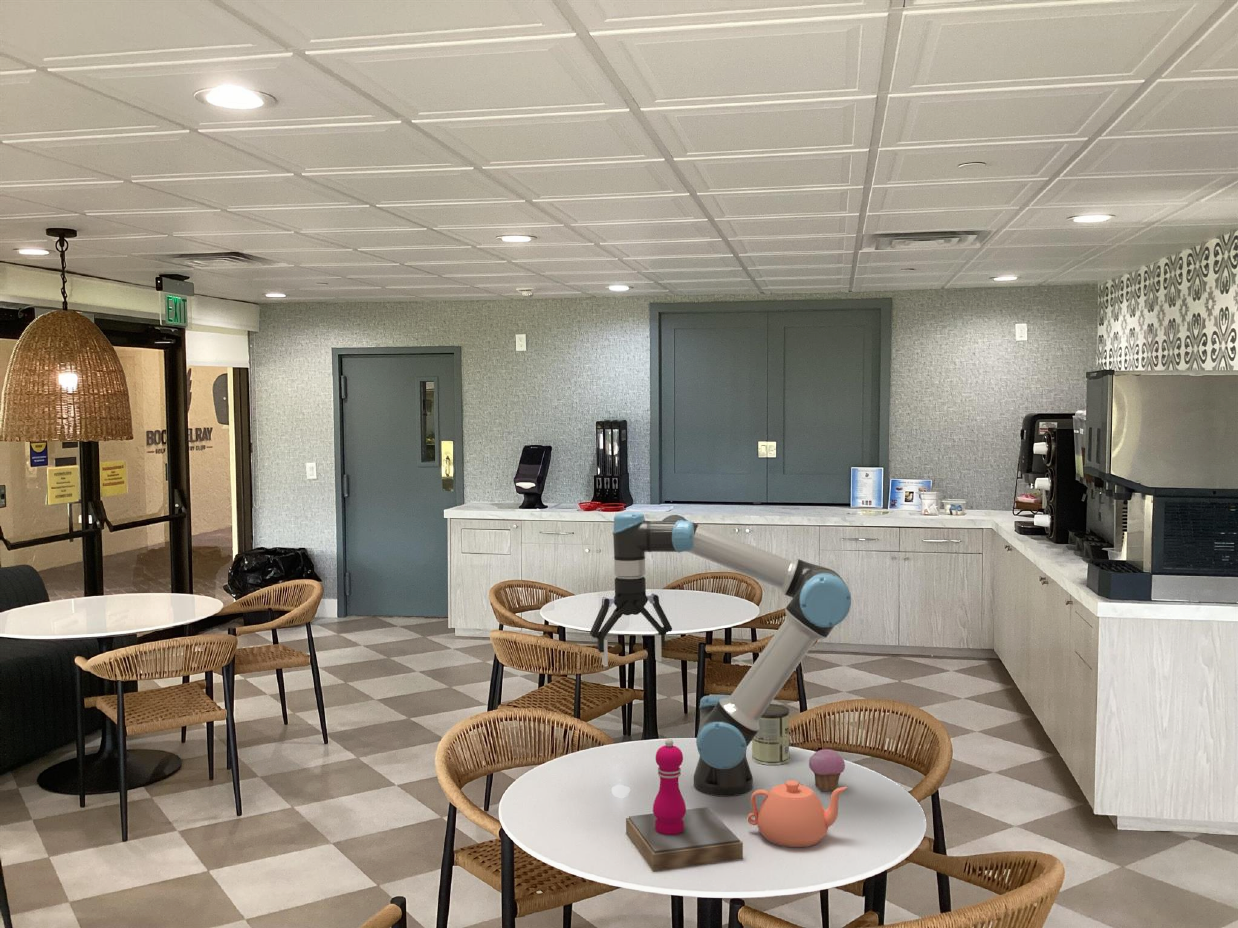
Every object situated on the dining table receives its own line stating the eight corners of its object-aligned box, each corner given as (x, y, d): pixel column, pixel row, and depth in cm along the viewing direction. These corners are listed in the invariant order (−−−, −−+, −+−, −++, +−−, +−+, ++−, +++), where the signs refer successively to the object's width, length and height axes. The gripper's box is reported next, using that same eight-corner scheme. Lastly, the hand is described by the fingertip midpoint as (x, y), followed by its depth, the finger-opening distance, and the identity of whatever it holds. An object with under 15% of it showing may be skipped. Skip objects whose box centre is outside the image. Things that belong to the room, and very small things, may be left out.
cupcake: (839, 782, 254) (839, 744, 254) (848, 795, 246) (848, 755, 245) (805, 783, 254) (805, 745, 254) (812, 796, 245) (812, 756, 245)
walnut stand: (708, 822, 229) (708, 805, 229) (742, 858, 210) (742, 840, 210) (626, 832, 224) (626, 815, 224) (653, 871, 205) (653, 852, 204)
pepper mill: (689, 824, 218) (689, 735, 217) (680, 837, 211) (680, 745, 211) (658, 820, 221) (658, 732, 220) (648, 833, 214) (648, 742, 213)
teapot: (847, 827, 226) (847, 773, 226) (847, 856, 211) (847, 798, 211) (750, 819, 231) (750, 766, 231) (744, 847, 216) (743, 791, 216)
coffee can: (750, 752, 278) (750, 702, 278) (787, 753, 277) (787, 703, 277) (752, 764, 268) (752, 713, 268) (790, 765, 267) (790, 714, 266)
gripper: (673, 571, 247) (675, 655, 248) (576, 577, 240) (578, 663, 241) (683, 575, 240) (685, 661, 241) (583, 581, 233) (585, 670, 234)
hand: (631, 663), depth 241 cm, fingers open, 13 cm apart
